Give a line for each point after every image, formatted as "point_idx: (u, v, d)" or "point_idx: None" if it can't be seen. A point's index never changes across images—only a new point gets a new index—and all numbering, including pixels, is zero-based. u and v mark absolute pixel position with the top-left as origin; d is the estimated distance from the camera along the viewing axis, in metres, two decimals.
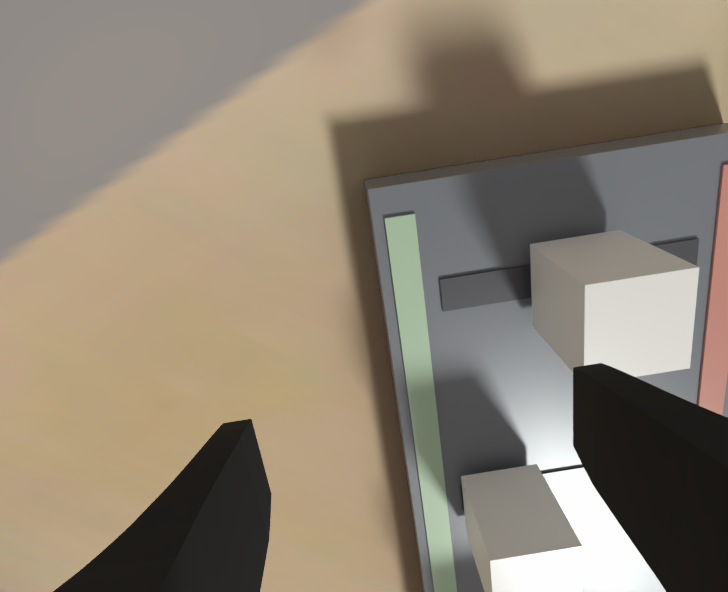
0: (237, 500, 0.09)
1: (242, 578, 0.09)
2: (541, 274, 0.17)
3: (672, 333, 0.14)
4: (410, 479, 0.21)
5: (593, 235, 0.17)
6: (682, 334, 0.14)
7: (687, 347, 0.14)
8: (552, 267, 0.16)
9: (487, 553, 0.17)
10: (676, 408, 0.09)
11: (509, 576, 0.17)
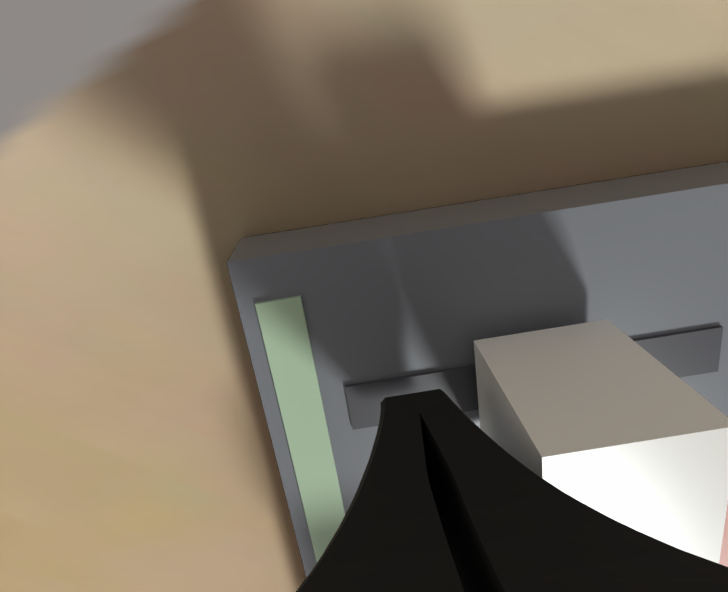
0: None
1: None
2: (487, 392, 0.11)
3: (690, 523, 0.09)
4: None
5: (567, 329, 0.11)
6: (707, 525, 0.09)
7: (714, 542, 0.09)
8: (499, 392, 0.10)
9: None
10: (467, 441, 0.09)
11: None
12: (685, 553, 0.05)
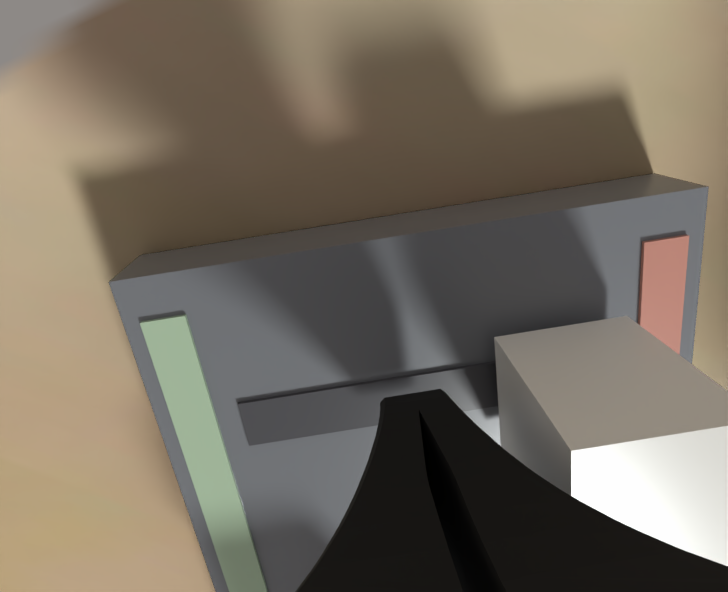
0: None
1: None
2: (509, 388, 0.11)
3: (716, 517, 0.09)
4: None
5: (588, 325, 0.12)
6: None
7: None
8: (523, 387, 0.10)
9: None
10: (468, 441, 0.09)
11: None
12: (686, 553, 0.05)
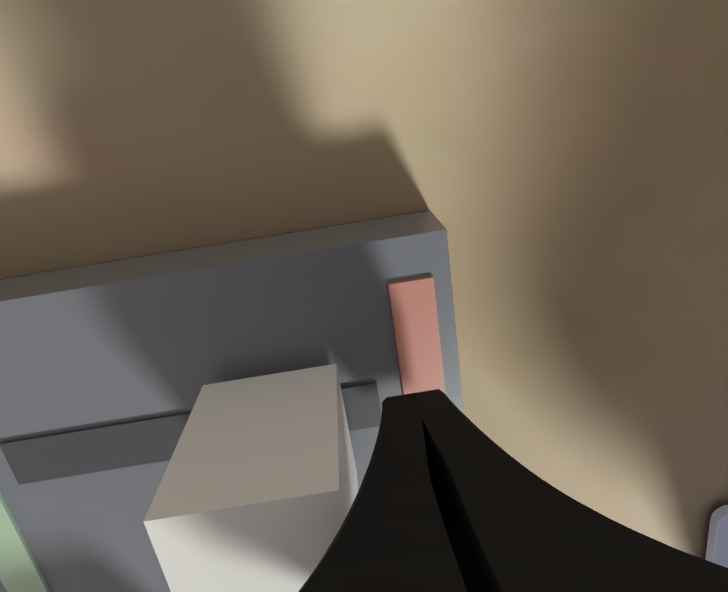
0: None
1: None
2: None
3: None
4: None
5: (293, 374, 0.12)
6: None
7: None
8: (183, 444, 0.10)
9: None
10: (466, 442, 0.09)
11: None
12: (683, 553, 0.05)
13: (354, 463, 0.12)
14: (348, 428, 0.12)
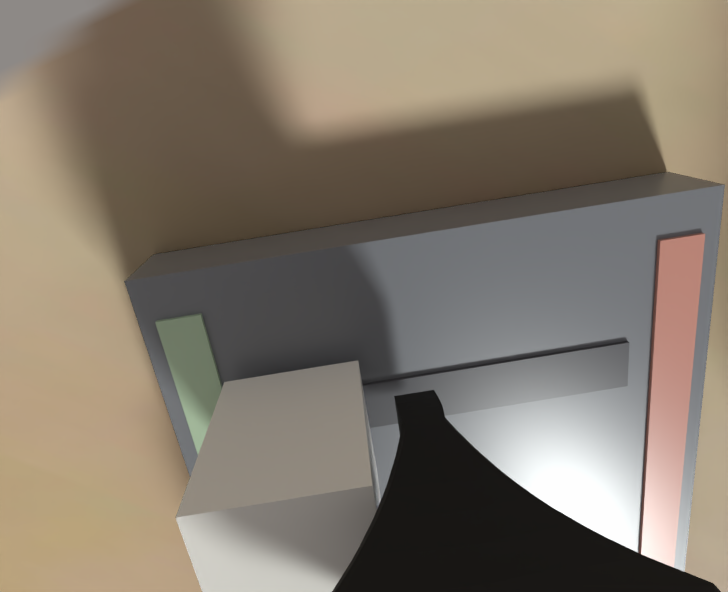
0: None
1: None
2: None
3: None
4: None
5: (315, 370, 0.11)
6: None
7: None
8: (208, 440, 0.10)
9: None
10: (444, 445, 0.09)
11: None
12: (648, 559, 0.05)
13: None
14: None
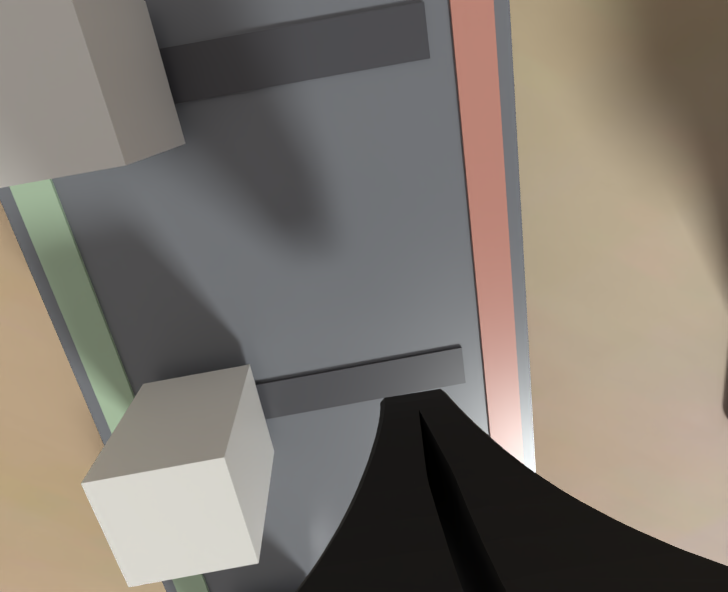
0: None
1: None
2: None
3: (64, 95, 0.08)
4: (84, 393, 0.15)
5: None
6: (84, 97, 0.08)
7: (103, 123, 0.08)
8: None
9: (89, 474, 0.11)
10: (468, 441, 0.09)
11: (123, 509, 0.11)
12: (686, 553, 0.05)
13: (177, 125, 0.12)
14: None
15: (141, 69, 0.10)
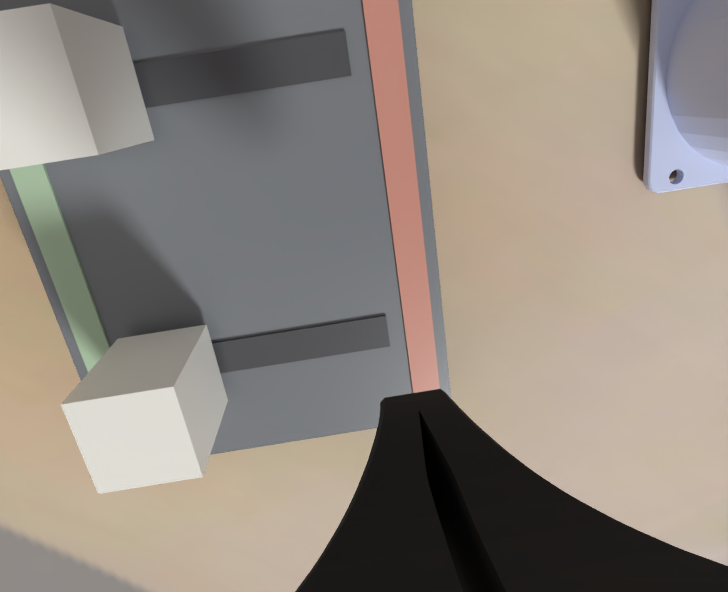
0: None
1: None
2: None
3: None
4: None
5: None
6: None
7: None
8: None
9: None
10: (468, 441, 0.09)
11: None
12: (686, 553, 0.05)
13: None
14: None
15: None
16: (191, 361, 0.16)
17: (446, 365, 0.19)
